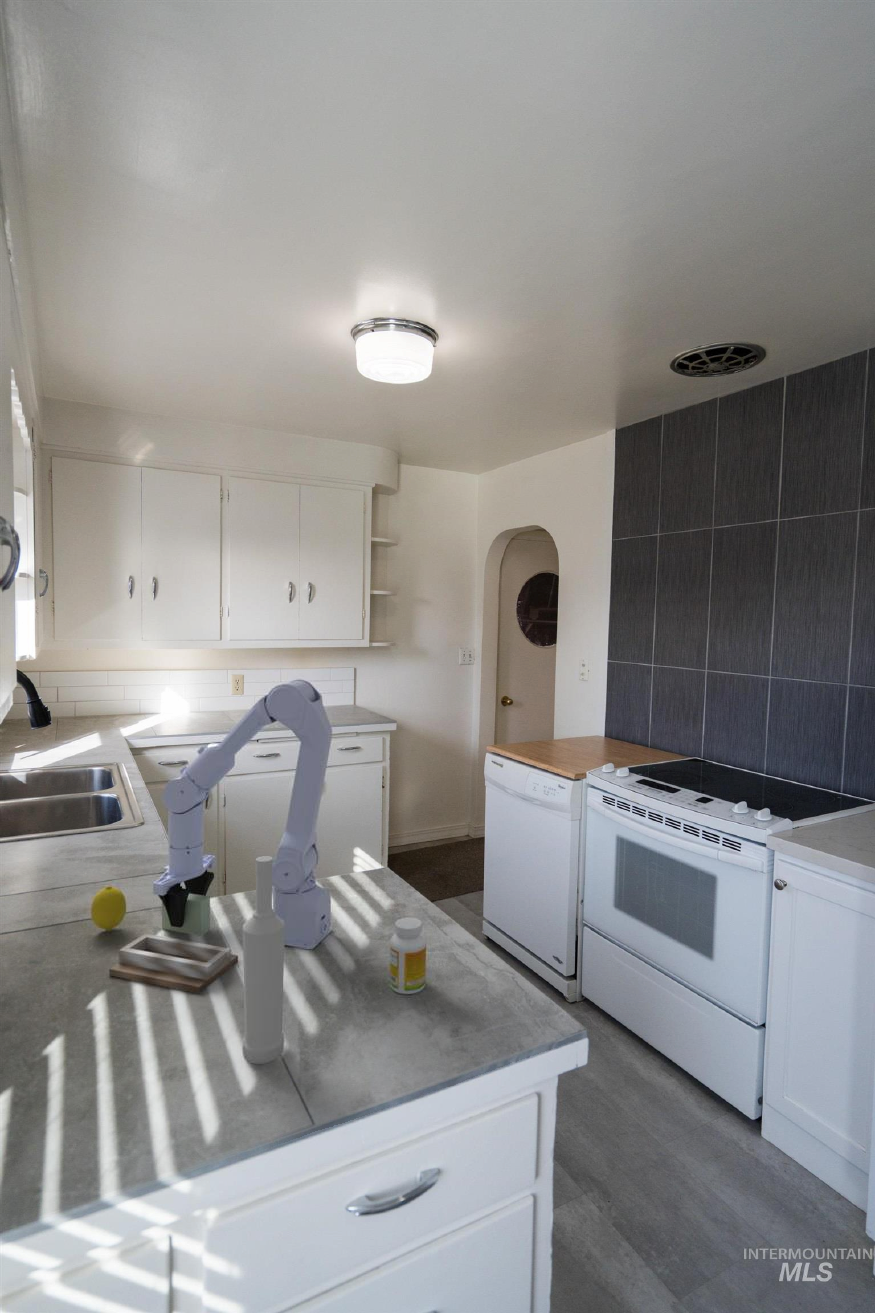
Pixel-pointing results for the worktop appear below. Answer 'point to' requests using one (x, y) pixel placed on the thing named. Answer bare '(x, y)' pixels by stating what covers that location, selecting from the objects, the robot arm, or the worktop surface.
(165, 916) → the pale green rectangular block
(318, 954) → the worktop surface
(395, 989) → the supplement bottle
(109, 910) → the lemon
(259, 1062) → the bottle
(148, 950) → the track base
